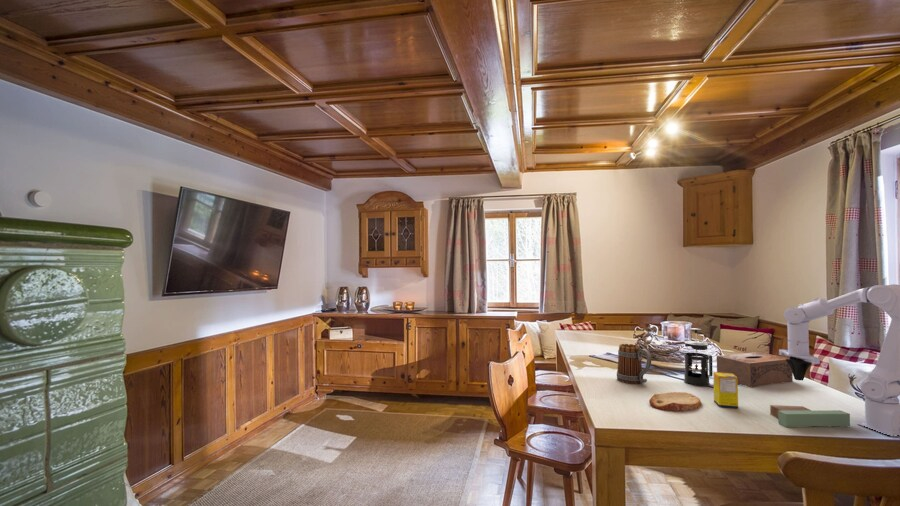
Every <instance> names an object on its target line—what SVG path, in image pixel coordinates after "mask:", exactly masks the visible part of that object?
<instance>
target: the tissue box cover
mask: <svg viewBox="0 0 900 506" xmlns="http://www.w3.org/2000/svg"><path fill="white" fill-rule="evenodd" d="M789 358H790V357H787V356H785V357H784V356H782V355H780V356H779V355H776V354H775V355H773V354H770V353H764V352H760V351H754V352H743V353H733V354H732V353H731V354H724V355H723V354H722V355H716V372H720V373H732V374H733V375H735V376H736V377H737V380H738V385H740V384H741V385H740V386H745V387H749V388H755V387H760V386H762V387H764V386H771V385H776V384H784V383H786V384H787V383H792V382H793V380H794V376H793V373H792V370H791V368H790V366H789V364H788V363H787V361H786V359H789Z"/></svg>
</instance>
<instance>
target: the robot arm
mask: <svg viewBox="0 0 900 506" xmlns="http://www.w3.org/2000/svg"><path fill="white" fill-rule="evenodd" d="M858 303H871V304H872V305H874V306H875V307H878V308H879V309H880V310H882V311H884V312H885V313H886V314H887V315H888V317H889V318H891V320H890V324H889V327H888V329H887V332H886V335H885V338H884V341H883V343H882V345H881V349H880V352H879V354H878V358H877V361H876V364H875V366H874V367H873V368H872V369H871V371H870V372H869V373H868V375H867V377H866V379H864V380H863V381H861V383H860V391H861V392H862V394H863V395H864V410H865V411H864V413H865V417H864V418H865V422H864V421H863V422H856V424H857V425H858V424H859V426H861V427H864V426H865V427H864V428H866V427H868V428H867V429H869V428H871V429H873V430H872V431H874V430H876V431H875V432H877V431H878V432H877V433H879V432H881V433H880V434H882V433H884V434H887V435H899V436H898V437H900V400H899V396H900V284H895V283H893V284H876V285H873V286H867V287H864V288H860V289H856V290H854V291H850V292H848V293H845V294H843V295H839V296H837V297H834V298H831V299H829V300H828V299H826V298H819V297H816V298H812V301H809V302H807V303H798V305H797V306H798V307H795V306H791V307H788V308H785V310H784V312H783V318H784V320H785V321H786V322H787V327H786V329H787V349H779V350H778V356H779V355H780V356H783V357H784V356H785V357H787V358H789V359H786V361H787V363H788V364H789V366H790V368H791V370H792V373H793V380H796V381H804V379H805V376H806V373H807V371H808V369H809V367H810V366H811V365H812V364H813V365H820V364H821V358H819V357H817V356H815V355H811V354H810V347H809V346H810V342H809V341H810V339H809V338H810V335H809V333H810V332H809V330H810V329H809V323H810V322H811V321H813V320H817V319H820V318H824V317H828V316H831V315H833V314H834V312H835V310H836V309H839V308H844V307H846V306H851V305H854V304H858ZM871 429H870V430H871ZM884 434H883V435H884ZM887 435H886V436H887Z"/></svg>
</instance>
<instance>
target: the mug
mask: <svg viewBox="0 0 900 506" xmlns="http://www.w3.org/2000/svg"><path fill="white" fill-rule="evenodd" d="M642 353H644V354H645V357H646V364H645V367H644V369H643V367H642V366H643V365H642V360H644V359H643V356H642ZM617 355H618V356H617V358H618V359H617V371H616V379H617V380H618V381H619V382H621V383H624V384H632V385H633V384H634V385H638V384H644V383H647V381H648V378H644V375H646V374H647V372H649V370H651V369H650V368H651V366H652V355H651V353H650V351H649V350H648V349H646V348H641V347H640V345H637V344H633V343H630V344H629V343H620V344H619V346H618V351H617Z"/></svg>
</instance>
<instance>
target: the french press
mask: <svg viewBox="0 0 900 506" xmlns="http://www.w3.org/2000/svg"><path fill="white" fill-rule="evenodd" d="M690 331H694V334H695V340H688V341H687V340H685V341H684V342H683V344H685V347H686V348H687V347H691V349H693V350H695V352H690V351H689V352H684V353H683V357H684V373H683V374H684V380H683V382H684V383H685V384H687V385H690V386H695V387H710V385H711V383H710V377H713V372H714V371H713V355H711V354H705V353H701V352H698V351H707V350H708V346H709V343H707V342H703V341H697V340H698V339H697V334H698V331H702V329H701V328H697V327H696V328H695V327H694V328H692V327H691V328H690ZM693 360H694V361H695V365H693ZM698 361H700V365H698ZM698 372H699V373H698Z"/></svg>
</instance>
